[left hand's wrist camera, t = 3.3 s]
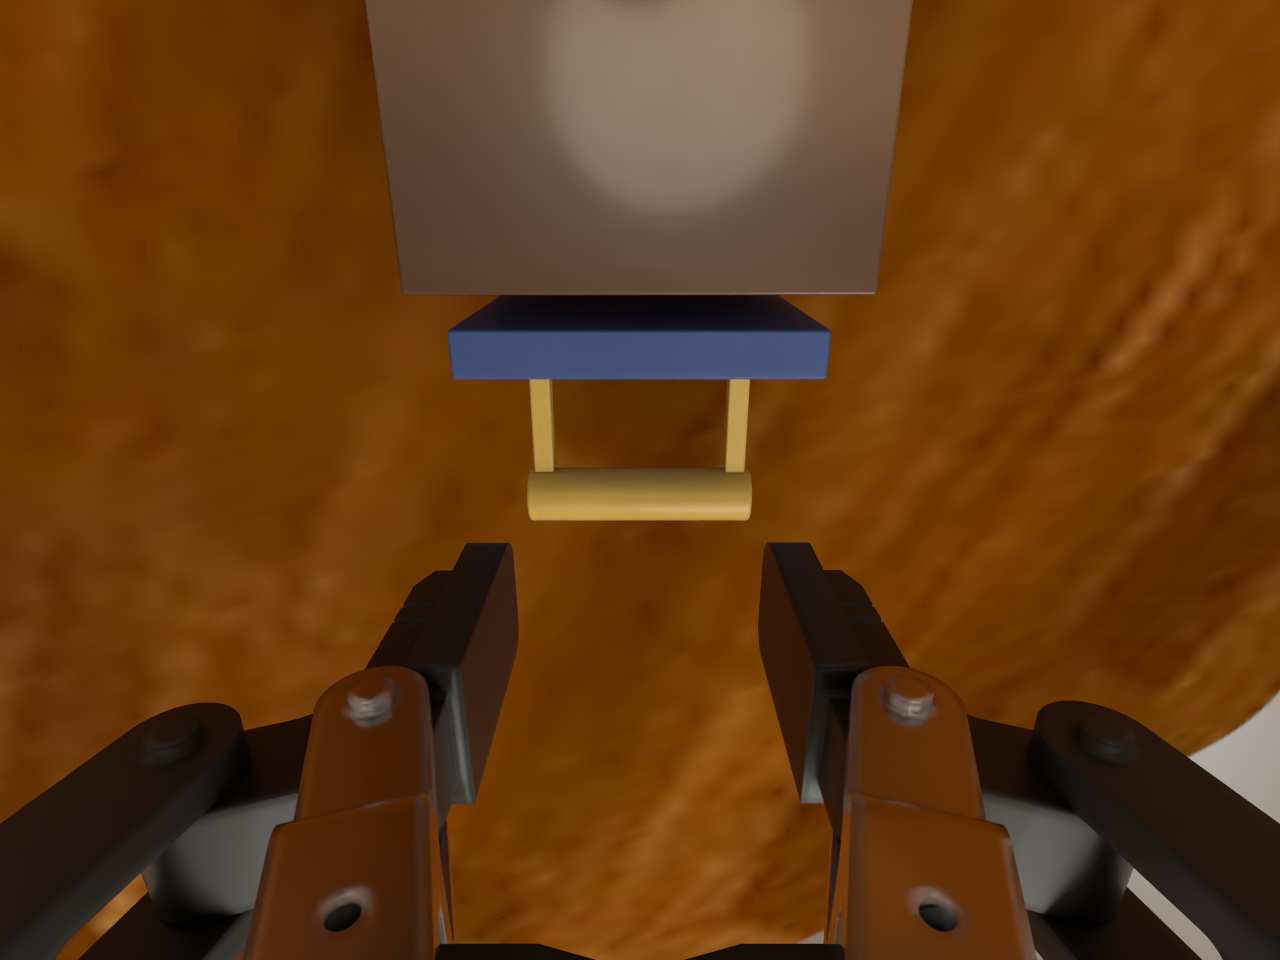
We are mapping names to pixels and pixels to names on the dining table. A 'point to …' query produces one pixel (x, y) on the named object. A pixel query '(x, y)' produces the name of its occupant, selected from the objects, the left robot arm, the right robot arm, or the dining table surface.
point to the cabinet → (639, 143)
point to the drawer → (639, 349)
